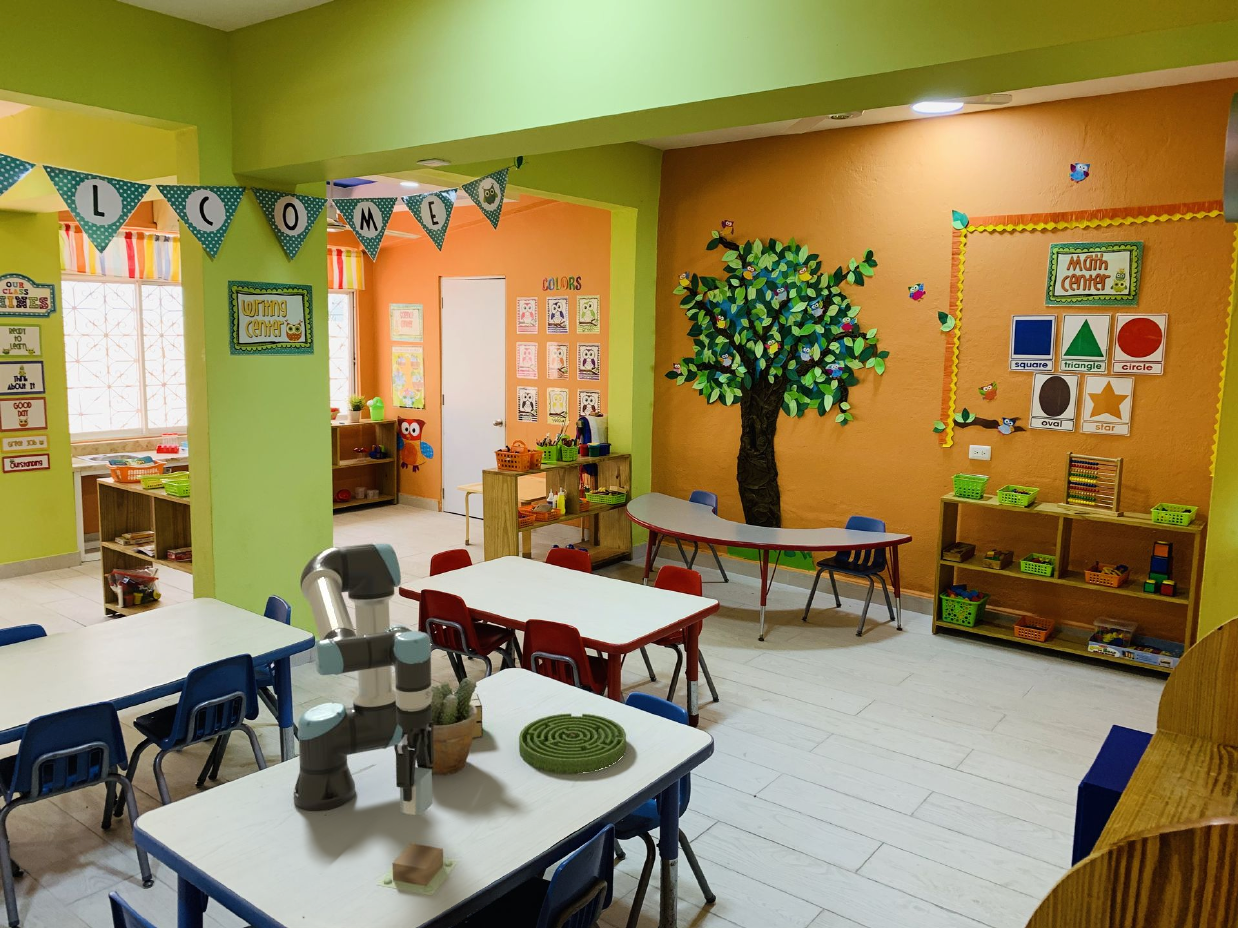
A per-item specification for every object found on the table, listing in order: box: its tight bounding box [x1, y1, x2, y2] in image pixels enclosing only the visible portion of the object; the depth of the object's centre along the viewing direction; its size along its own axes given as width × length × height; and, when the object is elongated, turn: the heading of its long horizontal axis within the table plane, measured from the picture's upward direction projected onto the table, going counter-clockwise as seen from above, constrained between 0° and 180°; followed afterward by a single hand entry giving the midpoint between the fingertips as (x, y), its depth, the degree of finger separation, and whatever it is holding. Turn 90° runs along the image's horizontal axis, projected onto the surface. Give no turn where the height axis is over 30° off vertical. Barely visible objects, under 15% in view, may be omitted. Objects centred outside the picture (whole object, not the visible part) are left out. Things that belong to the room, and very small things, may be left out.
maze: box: [518, 713, 627, 775], centre depth 259 cm, size 31×31×5 cm
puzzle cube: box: [470, 692, 483, 739], centre depth 269 cm, size 10×10×10 cm
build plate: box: [376, 857, 459, 896], centre depth 197 cm, size 13×13×1 cm
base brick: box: [392, 842, 444, 886], centre depth 197 cm, size 8×8×4 cm
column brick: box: [399, 766, 433, 816], centre depth 194 cm, size 5×5×8 cm
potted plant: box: [430, 677, 477, 776], centre depth 247 cm, size 18×19×25 cm
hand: (416, 806), depth 195 cm, fingers closed on column brick, 5 cm apart
